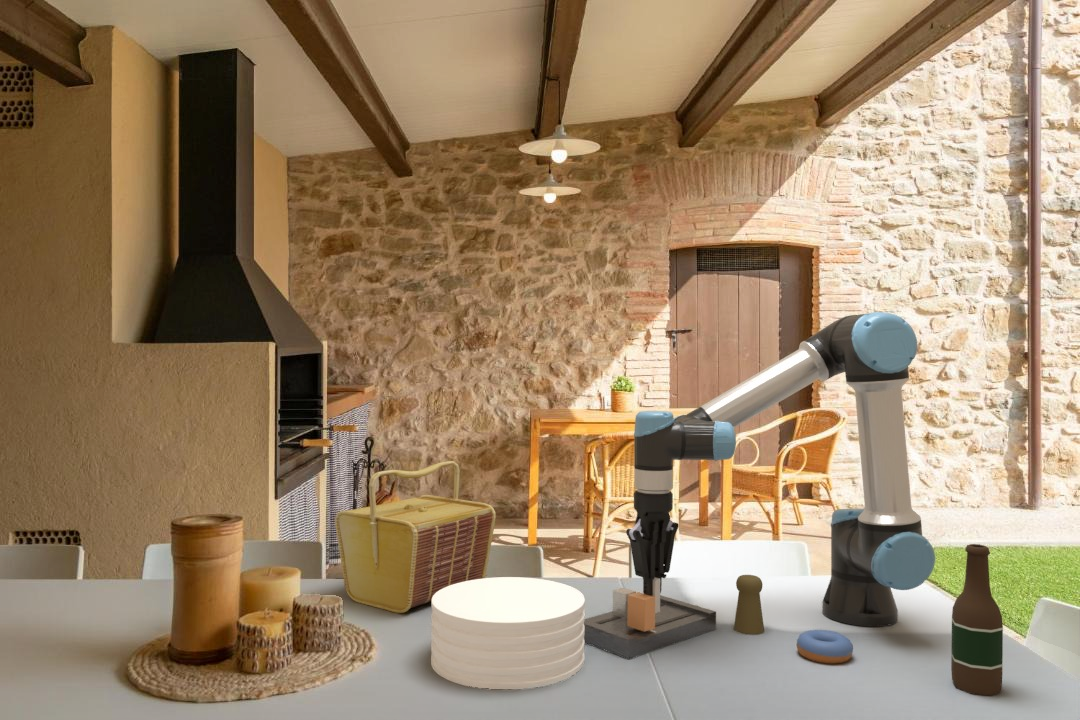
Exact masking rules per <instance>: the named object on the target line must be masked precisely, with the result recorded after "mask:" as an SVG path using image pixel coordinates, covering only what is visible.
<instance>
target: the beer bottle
mask: <svg viewBox="0 0 1080 720" xmlns="http://www.w3.org/2000/svg"><path fill="white" fill-rule="evenodd" d="M965 552H966V563H965V564H966V565H965V574H964V575H965V576H964V585H963V590H962V591H961V593H960V594H959V595H958V596H957V598H956V599H955V602H954V603H953V606H952V612H951V656H950V658H951V665H950V666H951V668H950V669H951V680H952V682H953V684H954V687H955V689H958V690H961V691H963V692H965V693H968V694H970V695H978V696H988V697H991V696H994V695H999V694H1000V693H1002V688H1003V687H1002V686H1003V658H1004V657H1003V654H1004V653H1003V651H1004V650H1003V643H1004V641H1003V640H1004V639H1003V638H1004V634H1003V633H1004V629H1003V628H1004V627H1003V615H1002V612H1001V610H1000V607H999V605H998V604H997V602H996V600H995V599H994V597H993V596H992V592H991V591H992V590H991V583H990V567H989V566H990V565H989V555H990V554H991V551H990V548H989V547H988V546H986V545H984V544H976V543H971V544H967V545H966V547H965Z"/></svg>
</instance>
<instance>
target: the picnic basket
mask: <svg viewBox="0 0 1080 720" xmlns="http://www.w3.org/2000/svg"><path fill="white" fill-rule="evenodd" d="M446 466H452V467H453V470H454V477H453V491H452V498H451V497H450V498H449V497H444V496H438V495H431V494H430V495H429V494H422V495H420V496H419V497H412V498H408V499H401V500H397V501H392V502H386V503H381V504H377V503H376V498H377V497H376V482H377V480H378V478H379V477H382V476H389V475H394V476H396V477H399V478H403V479H418V478H422V477H427V476H428V475H430V474H434V473H435V472H436V471H437V470H438V469H440V468H441V467H446ZM460 473H461V470H460V466H459V464H458V463H457V462H455V461H454V460H453V461H452V460H449V461H443V462H438V463H435V464H432V465H430V466H427V467H425V468H423V469H419V470H413V471H412V470H411V471H408V470H403V469H401V470H400V469H389V470H381V471H377V472H375V473H374V474H373V475H372V476H371V477H370V478H369V482H368V483H369V484H368V491H369V495H368V496H369V506H364V507H360V508H355V509H350V510H340V511H338V512H337V513H336V515H335V518H334V526H335V531H336V539H337V544H338V545H337V547H338V552H339V556H340V564H341V571H342V576H343V583H344V584H343V585H344V588H345V591H346V593H347V595H348V596H349V598H351V600H353V601H354V602H356V603H359V604H363V605H365V606H366V605H367V606H370V607H374V608H377V609H381V610H385V611H389V612H392V613H397V614H404V613H406V612H408V611H409V610H410V609H412V608H416V607H418V606H421V605H424V604H427V603H431V601H432V597H433V595H434V594H435V593H436V592H438V591H439V590H441V589H443V588H445V587H447V586H450V585H453V584H456V583H460V582H464V581H469V580H475V579H483V578H486V574H487V569H488V568H487V567H488V564H489V563H488V562H489V557H490V552H491V547H492V541H493V536H494V530H495V526H496V525H495V523H496V518H497V515H496V514H497V513H496V511H495V508H494V507H493V506H492V505H490V504H489V503H485V502H479V501H473V500H472V501H471V500H467V499H459V489H460Z"/></svg>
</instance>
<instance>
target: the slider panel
mask: <svg viewBox="0 0 1080 720" xmlns="http://www.w3.org/2000/svg"><path fill="white" fill-rule="evenodd" d="M633 593H636V591H635V590H633V589H628V588H626V587H621V588H618V589H613V590H612V611H609V612H605V613H602V614H597V615H595V616H592V617H588V618H585V621H584V626H585V635H584V641H585V642H586V643H585V644H588V645H590V644H591V646H593V645H594V646H593V647H595V646H596V648H598V647H599V648H598V649H601V648H602V649H601V650H603V649H605V650H604V651H606V650H607V651H606V652H608V651H610V652H609V653H611V652H612V653H611V654H613V653H615V654H614V655H616V654H617V656H619V655H620V656H619V657H621V656H623V657H622V658H624V657H625V658H624V659H626V658H627V660H631V659H634V658H636V656H637V657H639V656H642V655H645V654H648V653H651V652H653V651H656V650H660V649H663V648H667V647H668V646H671V645H674V644H677V643H680V642H683V641H686V640H688V639H691V638H694V637H695V638H696V637H697V636H700V635H704V634H707V633H709V632H712V631H715V630H716V629H717V611H715V610H713V609H708V608H704V607H701V606H698V605H694V604H692V603H688V602H685V601H681V600H679V599H675V598H672V597H668V596H666V595H665V596H664V595H661V594H660V612H658V613H655V629H651V630H648V631H645V632H644V631H641V630H638V629H635V628H632V627H629V626H627V605H628V595H629V594H633ZM633 657H634V658H633ZM630 658H631V659H630Z"/></svg>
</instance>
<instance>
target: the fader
mask: <svg viewBox="0 0 1080 720" xmlns="http://www.w3.org/2000/svg"><path fill="white" fill-rule="evenodd" d="M627 626H629V627H632V628H635V629H638V630H641V631H644V632H645V631H648V630H651V629H655V597H653V596H650V595H646V594H644V593H643V592H638V591H637V592H636V593H633V594H629V595H628V605H627Z"/></svg>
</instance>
